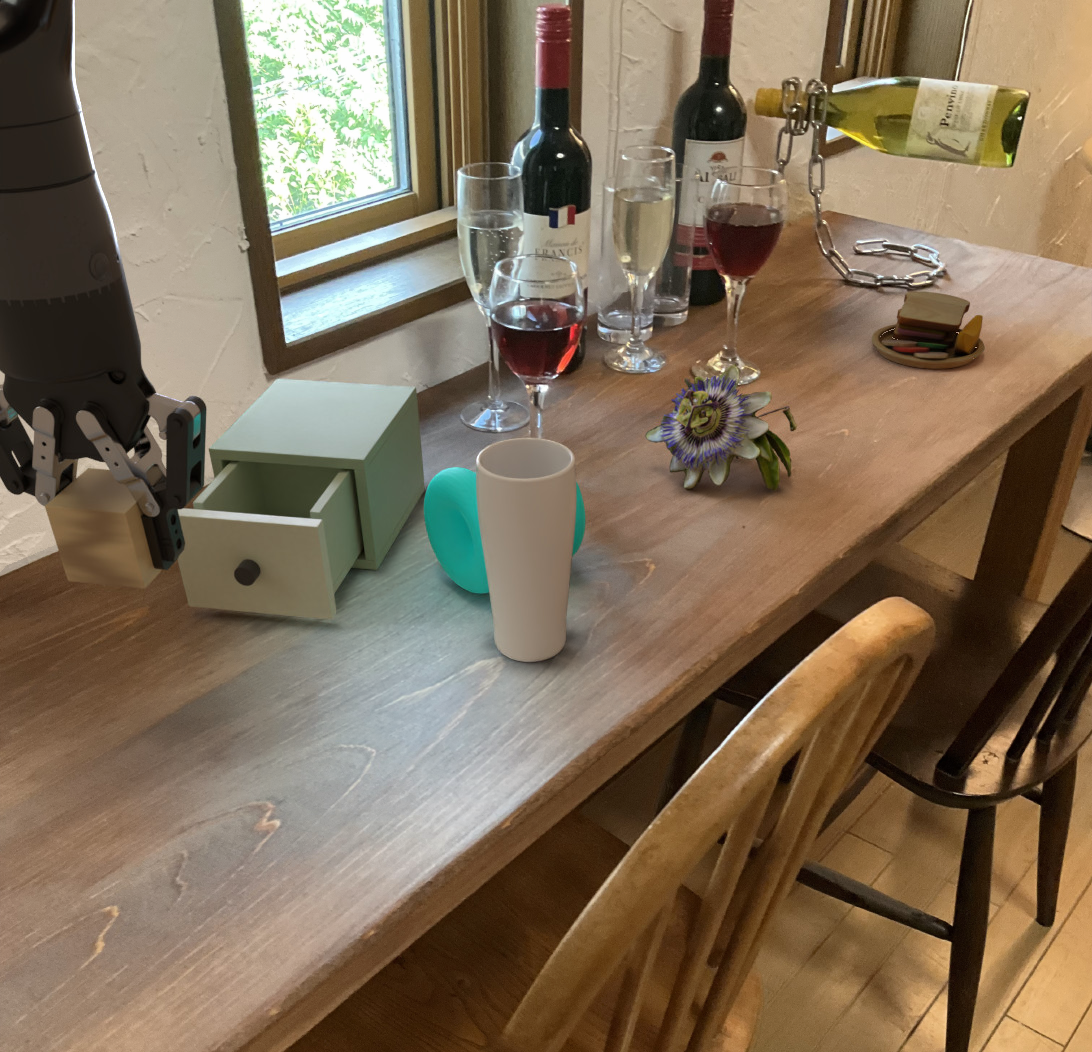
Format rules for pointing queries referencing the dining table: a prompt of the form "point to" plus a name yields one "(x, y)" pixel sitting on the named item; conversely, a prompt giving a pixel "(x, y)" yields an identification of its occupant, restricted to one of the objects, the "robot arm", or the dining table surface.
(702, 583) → the dining table surface
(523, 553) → the drinking glass
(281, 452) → the cabinet
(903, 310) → the toy sandwich meal
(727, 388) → the passion flower
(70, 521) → the block
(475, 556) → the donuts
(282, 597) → the drawer
